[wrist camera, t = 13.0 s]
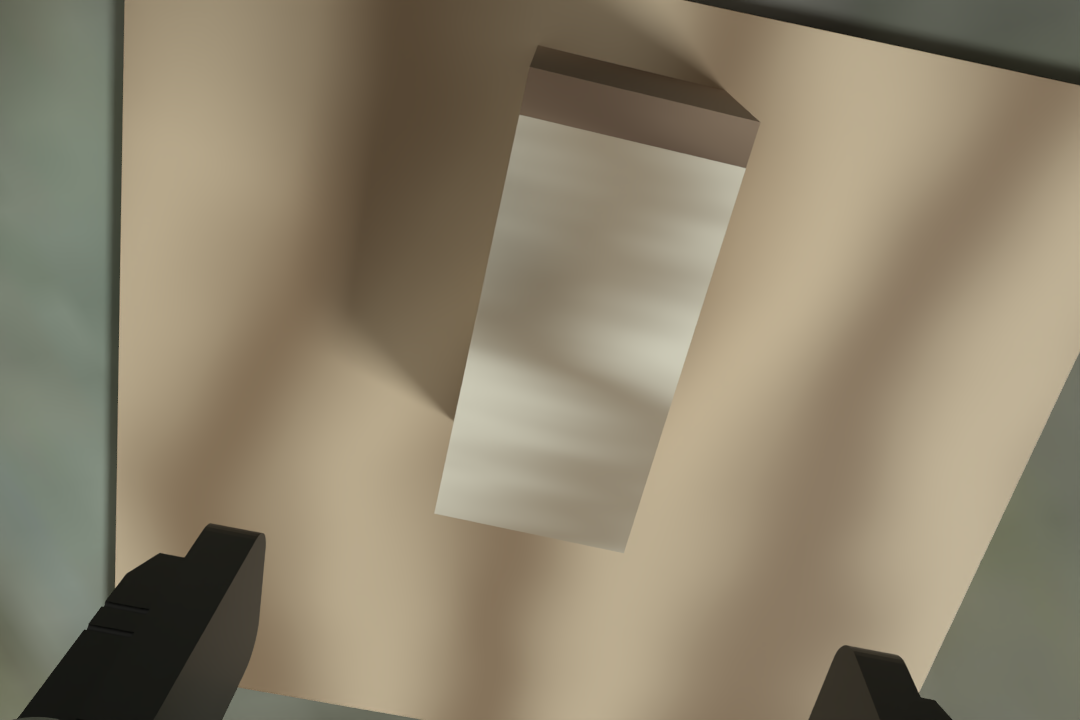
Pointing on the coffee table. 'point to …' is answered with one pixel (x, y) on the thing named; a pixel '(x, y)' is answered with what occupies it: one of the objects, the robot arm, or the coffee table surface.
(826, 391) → the wooden board
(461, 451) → the white block
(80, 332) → the coffee table surface
